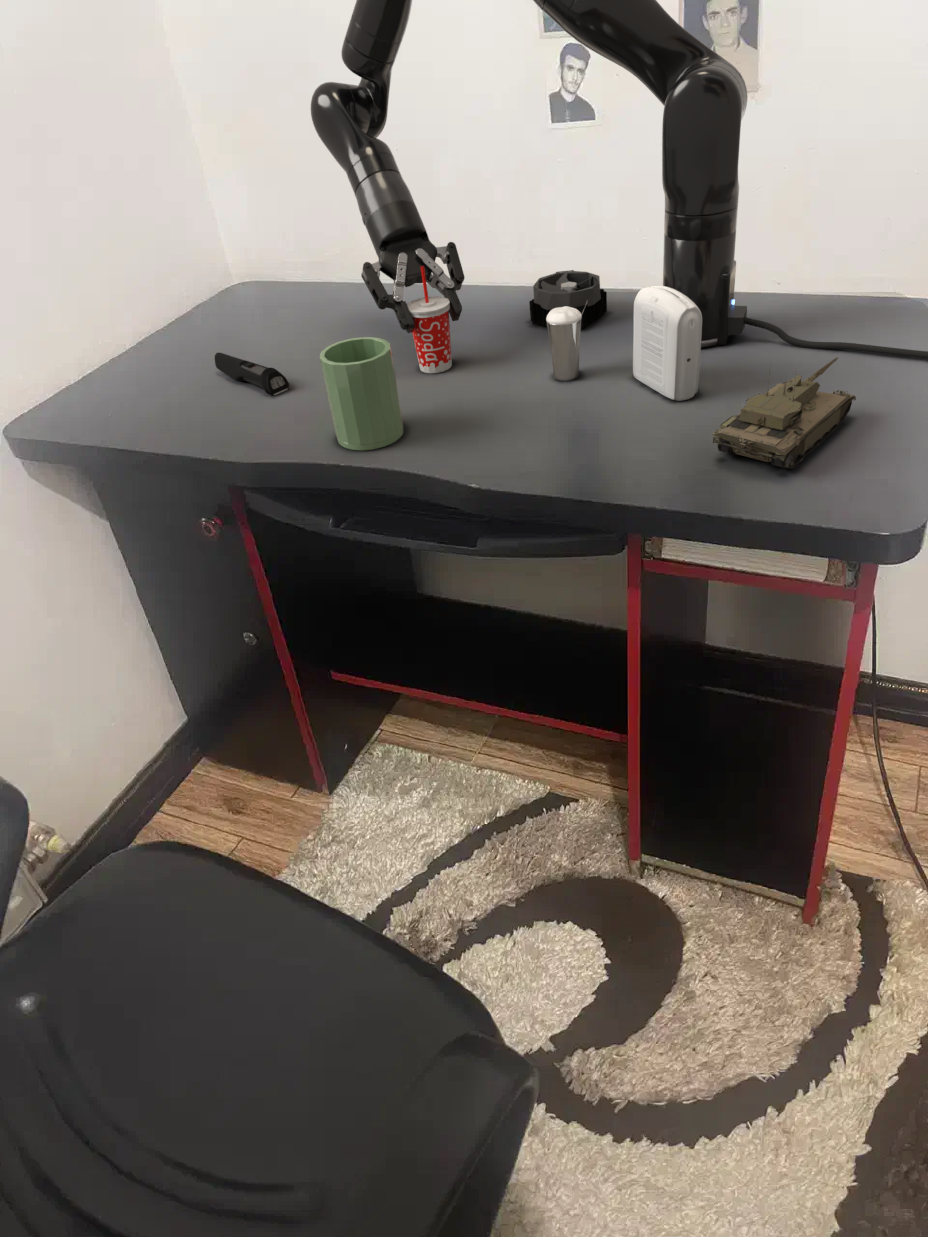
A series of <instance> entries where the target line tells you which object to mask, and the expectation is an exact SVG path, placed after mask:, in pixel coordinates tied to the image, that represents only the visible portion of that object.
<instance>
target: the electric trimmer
mask: <svg viewBox="0 0 928 1237" xmlns="http://www.w3.org/2000/svg"><path fill="white" fill-rule="evenodd" d="M214 365H215V367H216V369H217V370H219V371H220V372H221V373H223V374H225V375H226V376H228V377H230V378H231V379H232V380H235V381H237V382H245V381H246V382H248V383H250V384H253V385H255V386H258V387H260V388H262V389H263V390H264V392H265V393H266V394H267V395H269V396H272V395H273V396H276V395H279V394H280V395H281V393H284V392H285V391H288V390H289V389H288V388H289V387H290V383H289V380H288V379H287V378H286V376H285V375H284V374H283V373H281V372H280V371H279V370H277V369H276V368H275V367H268V366H264V365H262V364H258V363H255V362H252V361H249V360H245V359H241V358H238V357H235V356H233V355H229V354H227V353H223V352H216V353H215V354H214Z"/></svg>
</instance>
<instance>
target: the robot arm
mask: <svg viewBox="0 0 928 1237" xmlns="http://www.w3.org/2000/svg"><path fill="white" fill-rule="evenodd" d="M532 1H533V3H534V4H535V5H536V6H537V7H538V8H539V9H540V10H541V11H542V12H543V13H545V14H546V16H548V17H549V18H550V19H551V20H552V21H553V22H554V23H555V24H556V25H558V26H559V28H561V29H562V30H563V32H565V33H566V34H567V35H568V36H570V37H571V38H573V39H574V40H575V41H576V42H578V43H579V44H581V45H582V46H584V47H585V48H587V49H589V50H591V51H592V52H594V53H596V54H597V55H599V56H601V57H602V58H605V59H607V60H608V61H610V62H612V63H614V64H616V65H618V66H619V67H621V68H623V69H624V70H626V72H629V73H630V74H632V75H633V76H634V77H635V78H637V79H638V80H639V81H640V82H641V83H642V84H643V86H645V87H646V88H647V89H648V90H649V91H650V92H651V93H652V94H653V96H655V98H657V100H658V101H659V103H661V104H662V105H663V112H662V126H661V127H662V128H661V137H662V138H661V179H662V180H661V184H662V189H663V190H662V191H663V193H664V216H663V217H664V222H663V224H664V225H663V258H662V260H663V263H662V286H666V287H669V288H672V289H675V290H677V291H679V292H681V293H682V294H684V295H685V296H687V297H688V298H689V299H690V300H692V301H693V302H694V303H695V304H696V306H697V307H698V308H699V310H700V311H701V314H702V334H701V349H702V348H709V347H713V346H725V345H726V344H727V343H728V340H729V338H730V336H731V335H736V336H737V335H743V332H744V330H745V326H746V325H747V326H751V327H756V328H760V329H763V330H767V331H769V332H771V333H773V334H775V335H777V336H778V337H779V338H780V339H781V340H782V341H784V342H785V343H787V344H790V345H793V346H796V347H800V348H806V349H814V350H815V349H818V350H846V351H847V350H848V351H856V352H863V353H873V354H881V355H890V356H898V357H907V358H915V359H916V358H917V359H926V360H928V351H926V350H917V349H907V348H899V347H892V346H891V347H889V346H881V345H872V344H863V343H855V342H843V341H842V342H841V341H812V340H804V339H800V338H796V337H794V336H791V335H789V334H788V333H786V332H785V330H783V329H782V328H780V327H779V326H777V325H774V324H772V323H769V322H766V321H763V320H759V319H755V318H751V317H747V314H748V305H735V302H736V299H735V286H736V270H737V260H736V259H735V254H736V253H735V252H736V241H737V240H736V239H737V238H736V237H737V225H738V209H739V198H740V197H739V196H740V180H739V159H740V158H739V157H740V142H741V129H742V128H741V126H742V120H743V118H744V116H745V115H746V114H745V113H746V110H747V106H748V100H749V98H748V97H749V96H748V88H747V84H746V81H745V79H744V78H743V75H742V74H741V72H740V71H739V70H738V69H737V67H736V66H734V65H733V64H732V63H731V62H729V61H728V60H727V59H725V58H724V57H722V55H720V54H718V53H717V52H716V51H714V50H713V49H711V48H710V47H709V46H707V45H706V44H704V42H702V41H701V40H699V39H698V38H697V37H695V35H693V34H691V33H690V32H689V31H688V30H687V29H685V28H684V27H683V26H682V25H680V23H678V22H677V21H676V20H675V19H674V18H673V17H672V16H671V15H670V14H669V13H668V11H666V10H665V8H664V7H663V6H662V5H661V4H660V3H659V2H658V1H657V0H532ZM412 7H413V0H356V1H355V4H354V7H353V10H352V13H351V16H350V19H349V23H348V26H347V29H346V33H345V36H344V40H343V43H342V47H341V51H340V52H341V55H340V56H341V60H342V62H343V64H344V65H345V67H346V68H347V69H348V70H349V71H350V72H351V73H353V74H354V75H356V76H358V77H359V78H360V81H359V84H349V83H343V82H336V81H335V82H334V81H327V82H324V83H322V84H319V85H318V86H317V87H316V88H315V90H314V91H313V94H312V96H311V100H310V117H311V121H312V124H313V127H314V130H315V132H316V134H317V136H318V138H319V139H320V141H321V142H322V144H323V145H324V146H325V147H326V149H327V151H328V152H329V153H330V154H331V156H332V157H333V158H334V160H335V161H336V162H337V164H338V165H339V166H340V168H341V169H342V170H343V171H344V172H345V174H346V177H347V179H348V182H349V184H350V187H351V189H352V192H353V194H354V197H355V199H356V202H357V203H356V204H357V206H358V211H359V213H360V216H361V221H362V223H363V225H364V227H365V229H366V232H367V233H368V236H369V239H370V241H371V244H372V246H373V248H374V251H375V253H376V256H377V258H378V261H376V262H373V263H371V262H369V261H365V262H364V263H363V265H362V269H361V279H362V281H363V282H364V284H365V286H366V288H367V290H368V292H369V293H370V295H371V297H372V299H373V300H374V302H375V304H376V306H377V308H378V309H380V310H385V309H391V310H392V311H393V312H394V314H395V316H396V319H397V321H398V324H399V326H400V328H401V329H402V330H403V331H406V333H407V334H411V333H412V332H413V331H414V328H415V324H414V321H413V319H412V316H411V314H410V311H409V309H408V306H407V301H406V300H403V298H404V291H405V290H404V289H405V288H409V287H412V286H413V285H416V284H423V281H422V273H421V266H424V269H425V277H426V284H428V285H429V286H430V287H431V288H432V289H435V290H437V291H438V293H440V294H441V295H442V297H445V298H447V299H448V300H449V301H450V304H449V305H450V309H449V317H450V318H451V321H452V322H456V321H459V319H460V317H461V314H462V312H463V304H462V303H461V301H460V297H459V296H458V294H457V291H460V290H461V289H462V286H463V283H464V281H465V279H466V278H465V274H464V270H463V266H462V262H461V259H460V256H459V252H458V249H457V245H456V243H455V242H453V241H449V242H448V243H447V245H445V246H444V245H443V246H436V245H435V244H433V243H432V242H431V240H430V238H429V234H428V232H427V229H426V227H425V224H424V222H423V219H422V217H421V215H420V213H419V210H418V208H417V205H416V203H415V201H414V200H415V199H414V197H413V195H412V193H411V191H410V189H409V187H408V185H407V183H406V182H405V180H404V177H403V175H402V174H401V171H400V168H399V167H398V164H397V162H396V159H395V156H394V154H393V152H392V150H391V148H390V147H389V145H388V144H387V143H386V142H385V141H383V140H382V139H379V136H380V135H381V134H382V132H383V131H384V129H385V127H386V124H387V120H388V112H389V111H388V110H389V99H390V90H391V82H392V73H393V72H392V71H393V67H394V64H395V62H396V59H397V56H398V54H399V51H400V48H401V45H402V42H403V40H404V37H405V34H406V30H407V27H408V25H409V20H410V16H411V11H412ZM437 258H440V260H441V262H442V264H444V265H446V269H447V272H448V275H449V276H448V275H447V274H446V273H445V270H444V269H443V268H442V267H441V265H439V264H438V263H437V262H436V260H437ZM381 273H383V275H386V276H387V277H388V278H389V279H390V280H392V281H393V283H392V284H393V286H392V294H388V292H387V290H386V288H385V286H384V285H383V282H382V281H381V279H380V276H381Z"/></svg>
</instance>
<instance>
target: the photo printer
mask: <svg viewBox="0 0 928 1237" xmlns="http://www.w3.org/2000/svg"><path fill="white" fill-rule="evenodd" d="M632 332H633V336H632V337H633V339H632V340H633V343H632V348H633V349H632V374H633V377H634V378H635V379H636V380H638V381H639V382H641V383H642V384H644V385H645V386H647V387H648V388H651V389H652V390H654V391H656V392H657V393H659V394H660V395H663V397H666V398H668V399H670V400H673V401H677V402H681V401H686V400H690V399H692V398H693V397H694V396H695V394H697V393H698V389H699V382H700V381H699V379H700V366H701V349H702V348H701V334H702V314H701V311H700V310H699V308H698V307H697V306H696V304H695V303H694V302H693V301H692V300H690V299H689V298H688V297H687V296H685V295H684V294H682V293H681V292H679V291H677V290H675V289H672V288H669V287H666V286H663V285H658V284H657V285H650V286H648V287H643V288H641V289H639V291H638V293H637V294H636V295H635V298H634V302H633V331H632Z"/></svg>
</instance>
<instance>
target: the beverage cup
mask: <svg viewBox="0 0 928 1237" xmlns="http://www.w3.org/2000/svg"><path fill="white" fill-rule="evenodd" d="M421 273H422V281H423V283H422V288H423V294H424V297H419V298H416V299H415V298H414V299H413V300H411V301H409V302H406V304H407V306H408V309H409V311H410V314H411V316H412V319H413V321H414V324H415V328H414V331H413V332H411V333H412V337H413V342H414V347H415V351H416V352H415V353H416V357H417V362H418V366H419V369H420V371H421V372H423V373H425V374H438V373H443V372H445V371H446V372H447V371H448V370H449V369H450V368H452V366H453V361H452V345H451V326H450V314H449V309H450V305H449V304H450V301H449V300H448V299H447V298H445V297H444V296H439V295H434V296H433V295H432V296H429V293H428V286H427V284H428V283H427V282H426V277H425V269H424V266H421Z"/></svg>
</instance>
